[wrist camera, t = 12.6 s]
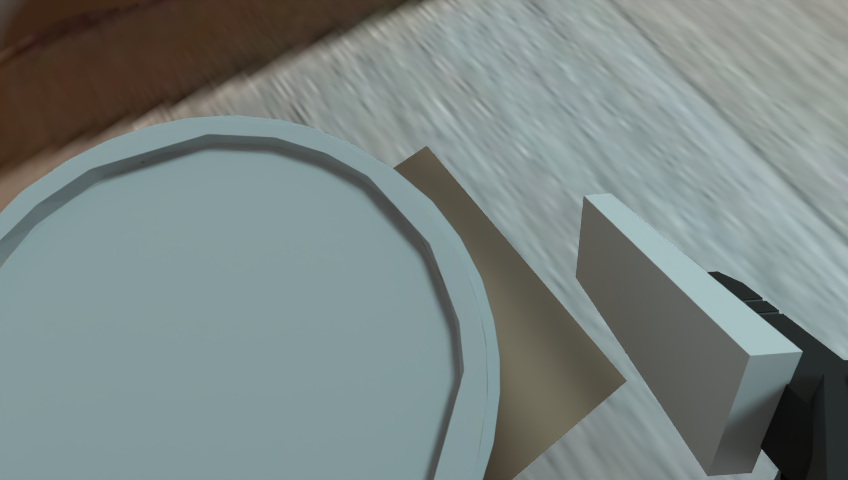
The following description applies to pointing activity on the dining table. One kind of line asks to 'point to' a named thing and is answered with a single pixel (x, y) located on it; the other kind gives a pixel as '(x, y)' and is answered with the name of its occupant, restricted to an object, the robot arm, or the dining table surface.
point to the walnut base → (520, 333)
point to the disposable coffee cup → (239, 315)
